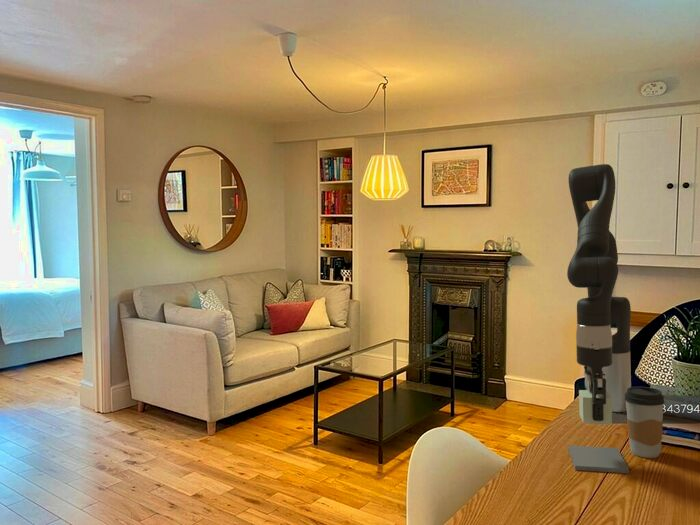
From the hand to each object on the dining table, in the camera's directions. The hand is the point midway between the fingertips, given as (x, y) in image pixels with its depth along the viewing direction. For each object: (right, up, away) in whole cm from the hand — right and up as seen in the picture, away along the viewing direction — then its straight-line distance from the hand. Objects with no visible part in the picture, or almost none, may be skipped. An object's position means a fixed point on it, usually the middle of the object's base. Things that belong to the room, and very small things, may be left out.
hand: (595, 415), depth 127 cm
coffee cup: (+14, -10, +4) cm, 17 cm away
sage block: (0, -1, 0) cm, 1 cm away
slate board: (+1, -11, +1) cm, 11 cm away
